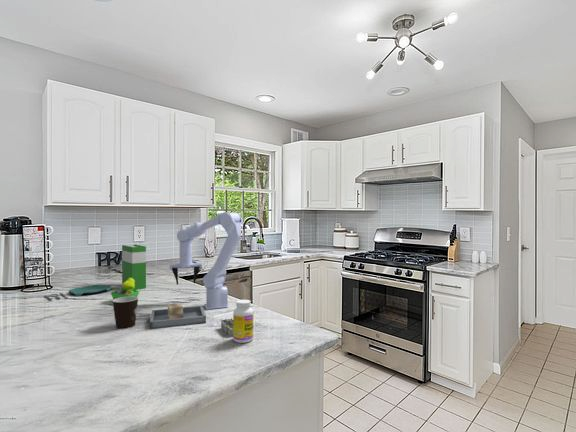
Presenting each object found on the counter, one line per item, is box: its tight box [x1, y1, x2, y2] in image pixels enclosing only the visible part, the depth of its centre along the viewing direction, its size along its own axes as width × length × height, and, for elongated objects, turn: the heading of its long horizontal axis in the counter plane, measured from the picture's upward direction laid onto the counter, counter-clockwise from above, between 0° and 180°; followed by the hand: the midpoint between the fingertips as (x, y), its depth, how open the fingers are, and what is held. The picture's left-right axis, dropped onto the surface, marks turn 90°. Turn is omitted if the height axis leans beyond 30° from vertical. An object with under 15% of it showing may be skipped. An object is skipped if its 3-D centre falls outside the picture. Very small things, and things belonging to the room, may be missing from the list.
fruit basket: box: [110, 278, 140, 301], centre depth 158 cm, size 11×9×11 cm
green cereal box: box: [121, 244, 147, 291], centre depth 191 cm, size 18×7×24 cm, turn 44°
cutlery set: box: [43, 284, 112, 302], centre depth 175 cm, size 20×30×2 cm, turn 136°
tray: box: [149, 305, 207, 330], centre depth 131 cm, size 20×16×2 cm
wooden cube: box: [167, 303, 184, 319], centre depth 130 cm, size 5×5×5 cm
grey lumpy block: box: [219, 318, 233, 337], centre depth 118 cm, size 11×8×4 cm
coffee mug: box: [112, 297, 139, 330], centre depth 124 cm, size 12×9×10 cm
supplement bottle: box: [232, 299, 254, 344], centre depth 109 cm, size 7×7×13 cm
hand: (185, 283), depth 154 cm, fingers open, 7 cm apart
